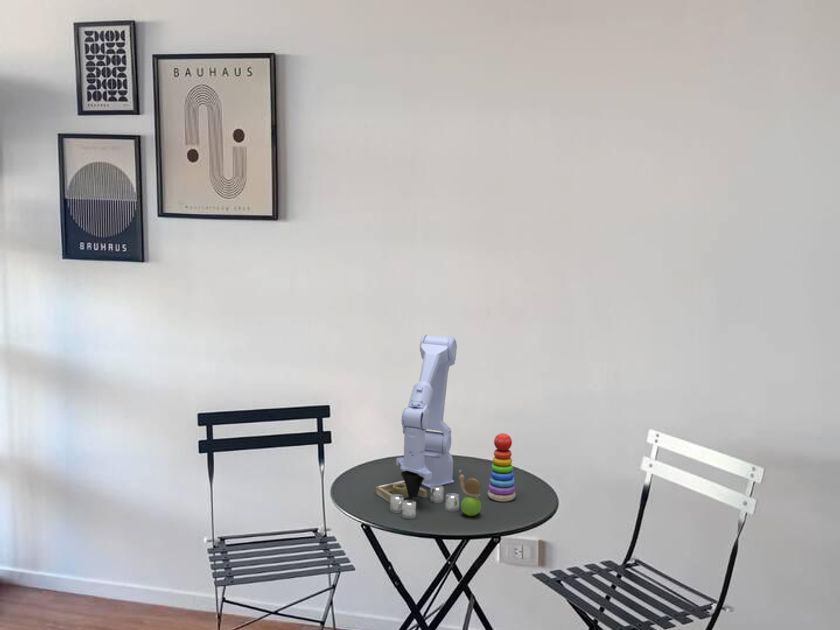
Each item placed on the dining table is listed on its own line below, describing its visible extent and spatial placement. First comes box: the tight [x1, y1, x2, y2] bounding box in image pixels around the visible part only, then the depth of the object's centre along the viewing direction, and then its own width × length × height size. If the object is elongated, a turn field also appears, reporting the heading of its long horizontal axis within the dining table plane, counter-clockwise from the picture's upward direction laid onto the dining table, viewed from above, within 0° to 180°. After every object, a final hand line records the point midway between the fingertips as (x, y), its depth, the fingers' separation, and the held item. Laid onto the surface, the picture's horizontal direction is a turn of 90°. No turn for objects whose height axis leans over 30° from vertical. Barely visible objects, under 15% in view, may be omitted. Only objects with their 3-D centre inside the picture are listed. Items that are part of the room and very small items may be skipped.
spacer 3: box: [429, 485, 445, 504], centre depth 226 cm, size 4×4×4 cm
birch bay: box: [374, 480, 428, 503], centre depth 229 cm, size 11×10×2 cm
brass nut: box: [392, 483, 410, 499], centre depth 229 cm, size 5×4×3 cm
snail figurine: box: [458, 469, 482, 517], centre depth 216 cm, size 5×6×12 cm
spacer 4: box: [445, 492, 460, 513], centre depth 221 cm, size 4×4×4 cm
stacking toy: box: [487, 432, 517, 502], centre depth 229 cm, size 8×8×19 cm
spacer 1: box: [389, 493, 405, 514], centre depth 218 cm, size 4×4×4 cm
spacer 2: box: [401, 499, 417, 520], centre depth 215 cm, size 4×4×4 cm
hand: (412, 496), depth 224 cm, fingers closed
